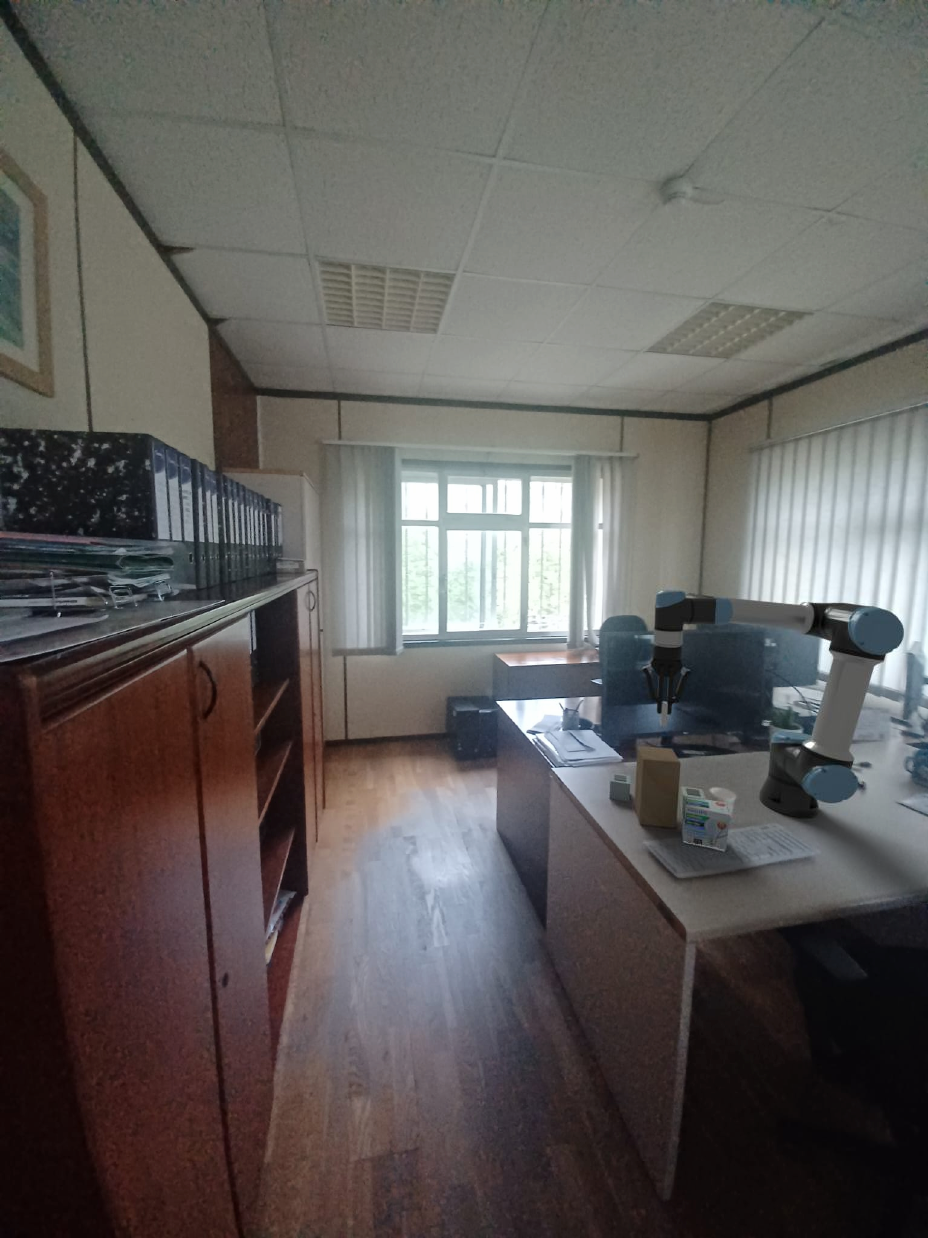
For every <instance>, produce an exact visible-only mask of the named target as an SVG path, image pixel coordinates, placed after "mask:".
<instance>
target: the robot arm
mask: <svg viewBox="0 0 928 1238" xmlns="http://www.w3.org/2000/svg"><path fill="white" fill-rule="evenodd" d="M728 624H738V625H744V626H745V625H746V626H755V627H763V628H764V627H765V628H771V629H772V628H774V629H780V630H781V629H782V630H783V629H784V630H792V631H795V632H796V633H797V634H799V635H806V636H812V637H815V638H819V639H823V640H826V641H829V642H830V643H829V647H828V651H829V653H830V654H831V655H832V657H833V659H832V662H831V666H830V669H829V673H828V676H827V680H826V683H825V687H824V690H823V693H822V698H821V701H820V705H819V708H818V710H817V711H818V712H817V715H816V718H815V723H814V725H813V730H812V733H811V734H807V733H802V732H798V731H797V732H796V731H785V730H784V731H776V732H774V733H773V734H772V737H771V741H770V751H769V753H770V754H769V760H768V761H769V762H768V772H767V777H766V778H765V781H764V783H763V785H762V786H761V788H760V790H759V800H760V802H761V803H762V804H763V805H764V806H766V807H767V808H770V809H771V810H773V811H775V812H777V813H780V814H783V815H786V816H791V817H795V818H796V817H797V818H804V819H805V818H806V819H807V818H813V817H816V816H817V815H818V814H819V802H822V803H825V804H838V803H841V802H844V801H847V800H849V799H850V798H852V797H853V796H854V795H855V794H856V792H857V790H858V787H859V780H858V778H857V776H856V774H855V773H854V771H852V768H853V764H854V761H855V757H854V755H853V754H852V753H851V751H850V749H851V745H852V743H853V738H854V735H855V732H856V729H857V726H858V722H859V719H860V715H861V713H862V709H863V706H864V702H865V699H866V697H867V691H868V689H869V686H870V682H871V679H872V675H873V673H874V668H875V666H877V665H880V664H882V663H884V662H885V659H886V656H887V654H890V653H892V652H894V650H895V649H898V648H899V646H901V644H902V642H903V640H904V637H905V628H904V625H903V623H902V621H901V619H899V617H898V616H897V615H896V614H895V613H893V612H891V611H890V610H887V609H885V608H881V607H878V606H874V605H863V604H857V603H856V604H855V603H848V602H809V601H803V602H801V603H799V604H794V603H784V602H783V603H782V602H774V601H763V600H753V599H744V598H743V599H742V598H736V597H734V598H733V597H726V596H725V597H724V596H715V595H712V596H711V595H706V594H705V595H704V594H703V595H702V594H695V593H690V592H688V593H686V592H685V591H684V590H676V589H675V590H672V589H663V590H658V592H657V593H656V597H655V605H654V629H653V643H654V645H653V646H652V648H653V649H652V659H651V660H650V663H649V664H648V665H647V666H642V672H643V673H644V675H645V676H646V679H647V680H646V681H647V685H648V690H649V695H650V699H651V701H652V702H656V712H657V714H658V715H660V720H659V723H660V726H661V727H668V716H669V715H670V716H671V715H672V710H673V709H672V708H673V704H676V703H679V702H680V700H681V697H682V694H683V692H684V689H685V685H686V683H687V679H688V678H689V677H690V676H691V675H692V672H691V670H690V668H686V667H684V664H683V661H682V659H683V658H682V654H683V647H682V645H683V643H684V642H683V641H684V640H683V638H684V625H701V626H702V625H704V626H705V625H707V626H721V625H728ZM652 670H654V672H655V674H656V675H657V676H658V677H657V678H658V680H657V693H655V689H654V685H653V680H652V675H651V674H652ZM679 672H680V675H681V676H680V679H679V681H678V684H677V688H676V691H675V692H674V680H675V677H676V676H677V675H678V674H679ZM665 678H667V689H666V691H667V692H666V693H667V694H666V701H663V697H664V681H665ZM656 694H657V695H656ZM818 801H819V802H818Z"/></svg>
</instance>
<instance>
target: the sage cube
mask: <svg viewBox="0 0 928 1238" xmlns="http://www.w3.org/2000/svg"><path fill="white" fill-rule="evenodd" d="M680 786H681V787H680V796H679V797H680V798H679V807H680V811H681V814H682V815H683V811H684V800H685V796H690V797H695V798H701V799H706V796H705V793H704V790H703V789H702V788H696V787H691V786H690V787H689V786H682V785H680Z"/></svg>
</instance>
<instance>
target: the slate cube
mask: <svg viewBox="0 0 928 1238" xmlns="http://www.w3.org/2000/svg"><path fill="white" fill-rule="evenodd" d="M630 793H631V775H629V774H628V775H627V774H622V773H614V772H610V782H609V799H611V800H616V801H621V802H622V801H623V802H630Z"/></svg>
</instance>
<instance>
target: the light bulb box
mask: <svg viewBox="0 0 928 1238" xmlns="http://www.w3.org/2000/svg"><path fill="white" fill-rule="evenodd" d="M729 826H730V811H729V807H728V804H727V802H724V801H723V802H722V801H716V800H710V799H706V798H705V799H701V798H695V797H690V796H685V800H684V811H683V814H682V823H681V837H682V838H683V839H682V842H683V841H686V842H688V843H695V844H701V845H705V846H710V847H717V848H719V849H726V850H727V844H728V834H729Z"/></svg>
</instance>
